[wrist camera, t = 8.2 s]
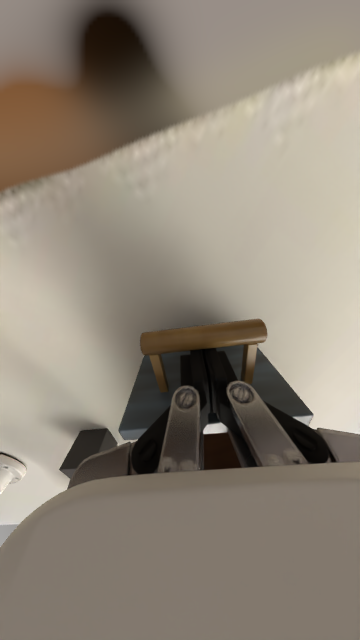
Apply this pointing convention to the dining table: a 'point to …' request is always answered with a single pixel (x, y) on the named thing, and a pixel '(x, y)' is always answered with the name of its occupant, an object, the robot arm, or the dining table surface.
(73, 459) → the black block
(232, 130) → the dining table surface
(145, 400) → the drawer
